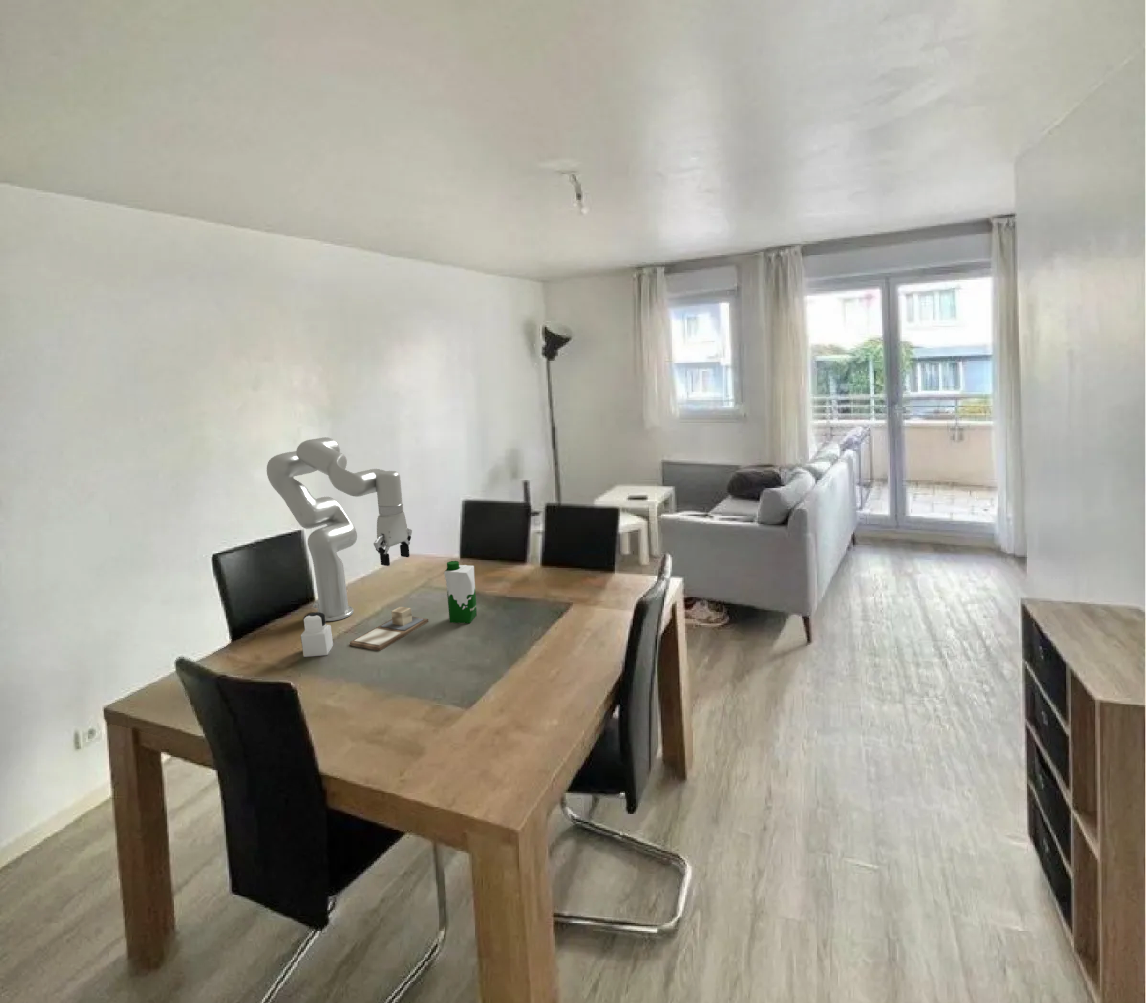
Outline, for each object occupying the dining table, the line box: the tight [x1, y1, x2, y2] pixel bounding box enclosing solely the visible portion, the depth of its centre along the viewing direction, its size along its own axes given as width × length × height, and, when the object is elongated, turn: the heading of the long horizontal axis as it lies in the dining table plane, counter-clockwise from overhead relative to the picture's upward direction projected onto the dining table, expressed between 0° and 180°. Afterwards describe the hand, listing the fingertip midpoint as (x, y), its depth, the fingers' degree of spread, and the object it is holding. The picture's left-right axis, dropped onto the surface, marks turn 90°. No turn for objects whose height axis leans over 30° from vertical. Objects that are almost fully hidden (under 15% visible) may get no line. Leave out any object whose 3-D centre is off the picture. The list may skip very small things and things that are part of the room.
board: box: [349, 616, 429, 652], centre depth 214 cm, size 12×24×1 cm, turn 155°
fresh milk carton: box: [443, 560, 477, 624], centre depth 221 cm, size 9×9×20 cm
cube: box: [390, 606, 413, 626], centre depth 218 cm, size 4×4×4 cm
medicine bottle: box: [300, 611, 334, 658], centre depth 201 cm, size 7×7×12 cm
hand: (395, 561), depth 215 cm, fingers open, 9 cm apart
